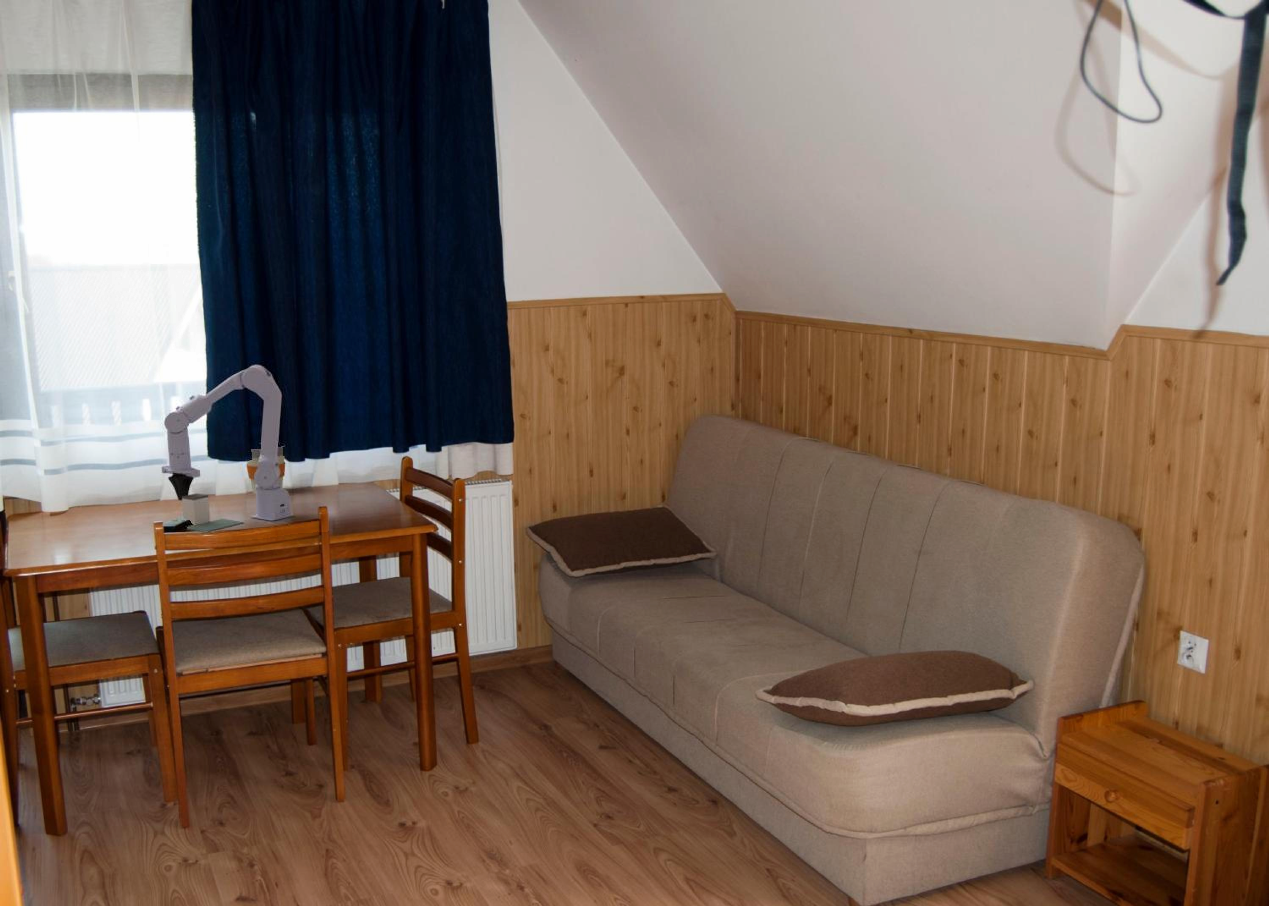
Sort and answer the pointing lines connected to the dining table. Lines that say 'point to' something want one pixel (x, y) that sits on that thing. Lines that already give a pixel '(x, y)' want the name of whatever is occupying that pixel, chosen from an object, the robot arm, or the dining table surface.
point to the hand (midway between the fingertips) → (182, 499)
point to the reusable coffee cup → (254, 463)
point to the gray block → (196, 508)
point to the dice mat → (214, 525)
